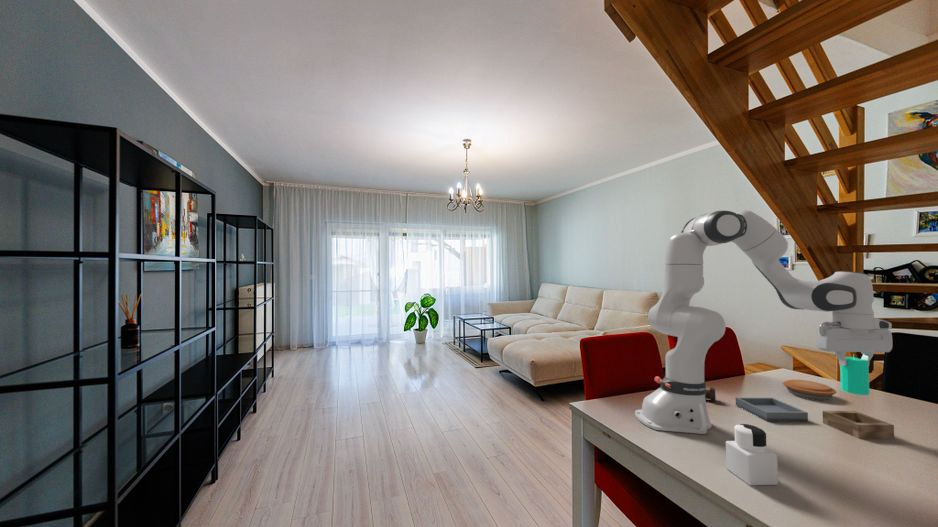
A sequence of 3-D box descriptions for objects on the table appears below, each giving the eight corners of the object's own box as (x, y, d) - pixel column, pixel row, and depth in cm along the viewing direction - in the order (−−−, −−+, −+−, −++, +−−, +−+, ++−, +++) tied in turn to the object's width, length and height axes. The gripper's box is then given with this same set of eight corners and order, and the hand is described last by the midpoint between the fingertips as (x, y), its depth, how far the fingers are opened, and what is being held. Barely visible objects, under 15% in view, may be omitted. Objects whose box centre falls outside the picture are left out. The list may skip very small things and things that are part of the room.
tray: (766, 421, 114) (766, 412, 114) (735, 405, 127) (735, 397, 127) (808, 421, 113) (807, 412, 114) (772, 405, 127) (772, 397, 127)
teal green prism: (861, 395, 104) (860, 356, 104) (835, 389, 110) (834, 352, 110) (874, 394, 105) (873, 355, 106) (848, 387, 111) (847, 351, 111)
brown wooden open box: (858, 438, 102) (858, 424, 102) (822, 422, 112) (822, 410, 113) (894, 438, 102) (893, 425, 102) (855, 423, 112) (854, 410, 112)
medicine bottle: (752, 467, 87) (751, 420, 87) (779, 485, 80) (777, 433, 80) (725, 468, 87) (724, 421, 87) (749, 486, 79) (748, 434, 80)
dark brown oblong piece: (671, 397, 141) (715, 404, 132) (669, 394, 138) (715, 401, 129) (671, 383, 144) (715, 389, 134) (669, 380, 140) (714, 386, 131)
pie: (842, 398, 135) (842, 385, 135) (828, 405, 127) (828, 392, 127) (791, 386, 148) (791, 375, 148) (776, 393, 141) (775, 380, 141)
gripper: (829, 323, 105) (831, 368, 105) (897, 323, 105) (898, 368, 104) (809, 320, 111) (811, 362, 111) (873, 320, 111) (874, 363, 111)
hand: (854, 365), depth 108 cm, fingers closed on teal green prism, 5 cm apart
